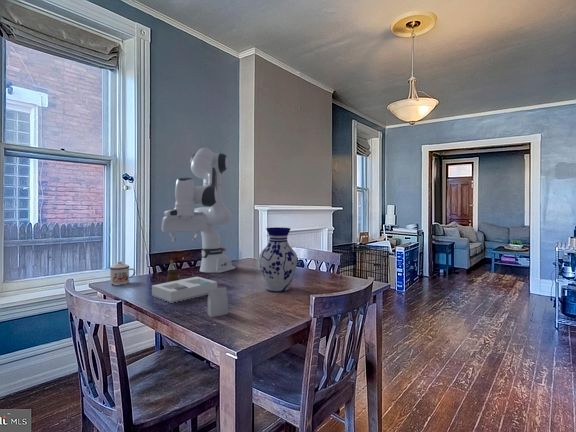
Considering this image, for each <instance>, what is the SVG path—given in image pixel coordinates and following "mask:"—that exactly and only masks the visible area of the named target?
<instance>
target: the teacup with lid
mask: <svg viewBox="0 0 576 432" xmlns="http://www.w3.org/2000/svg"><path fill="white" fill-rule="evenodd" d="M109 270H110V273H109V275H110V285H111V284H125V285H127V284H126V283H128V284H130V279H131V278H133V277H134V276H135V275H136V269H134V268H131V267H130V265H129V264H126V263H124V262H123V261H122V260H118V261H117V262H116V263H114V264H113V265H110V267H109ZM130 271H133V274H132V275H131V276H130Z"/></svg>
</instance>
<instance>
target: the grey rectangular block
mask: <svg viewBox="0 0 576 432" xmlns="http://www.w3.org/2000/svg"><path fill="white" fill-rule="evenodd" d="M207 315H208V316H209V317H210V318H214V317H219V316H225V315H229V297H228V292H227V287H225V286H224V287H223V286H222V287H217V288H216V289H209V294H208V296H207Z"/></svg>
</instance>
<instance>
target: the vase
mask: <svg viewBox="0 0 576 432" xmlns="http://www.w3.org/2000/svg"><path fill="white" fill-rule="evenodd" d="M265 230H266V232H267V233H268V236H269V242H268V243H267V245H266V246H265V247H264V248H263V249H262V251H261V252H260V254H259V257H258V263H259V268H260V271H261V275H262V279H263V281H264V283H265V287H266V291H268V292H271V293H285V292H289V290H290V288H291V284H292V283H293V279H294V275H295V272H296V269H297V265H298V260H299V259H298V255H297V253H296V251H295V250H294V249H293V247H291V246H290V243H289V242H288V235H289V233H290V231H291V227H277V226H276V227H265Z"/></svg>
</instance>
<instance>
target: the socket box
mask: <svg viewBox="0 0 576 432" xmlns="http://www.w3.org/2000/svg"><path fill="white" fill-rule="evenodd" d="M216 288H218V281H216V280H213V279H208V278H205V277H200V276H193V277H188V278H183V279H179V280H177V281H172V282H168V281H167V282H163V283H158V284H153V285H151V297H152V296H154V297H153V298H155V297H156V298H155V299H157V298H159V299H158V300H160V299H162V300H161V301H163V300H164V301H163V302H165V301H167V302H166V303H168V302H169V303H168V304H170V303H172V304H175V303H174V302H176V303H179V302H178V301H180V302H184V301H186V300H187V299H188V300H190V299H191V298H192V299H194V298H195V297H196V298H199V297H203V296H207V295H208V294H209V289H216ZM183 300H184V301H183Z"/></svg>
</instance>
